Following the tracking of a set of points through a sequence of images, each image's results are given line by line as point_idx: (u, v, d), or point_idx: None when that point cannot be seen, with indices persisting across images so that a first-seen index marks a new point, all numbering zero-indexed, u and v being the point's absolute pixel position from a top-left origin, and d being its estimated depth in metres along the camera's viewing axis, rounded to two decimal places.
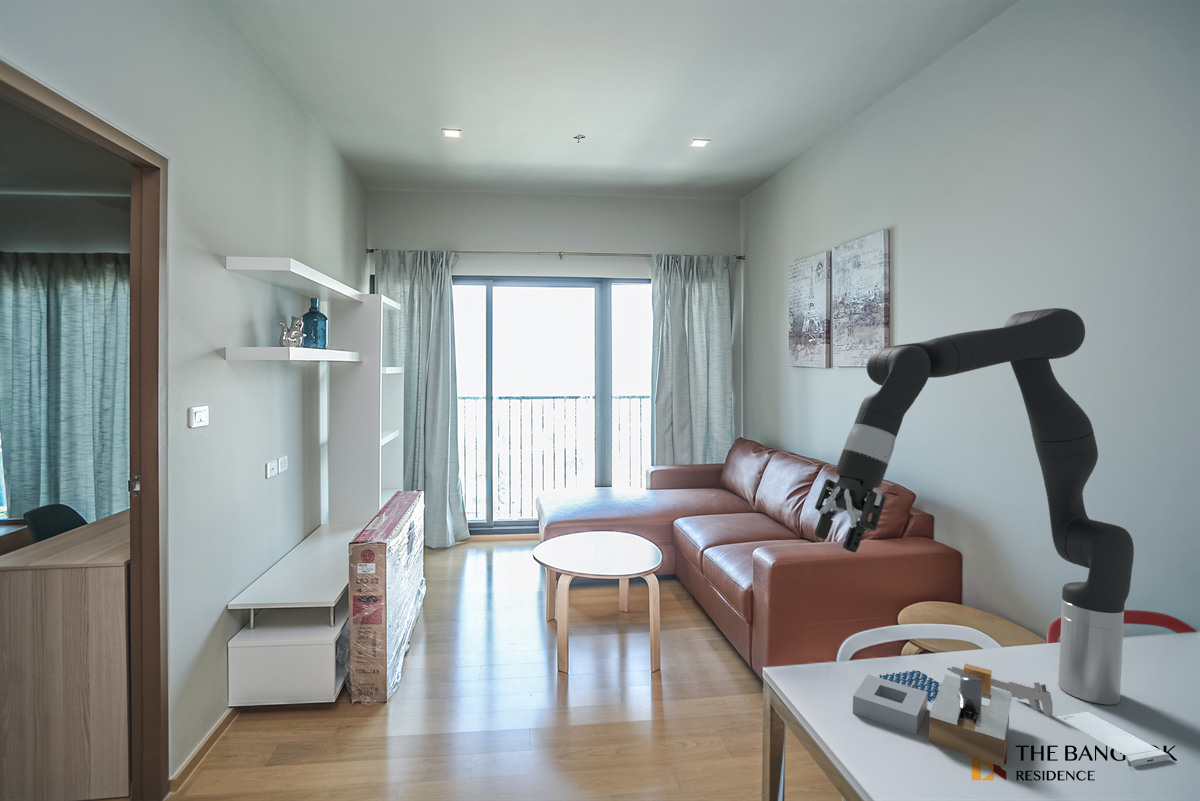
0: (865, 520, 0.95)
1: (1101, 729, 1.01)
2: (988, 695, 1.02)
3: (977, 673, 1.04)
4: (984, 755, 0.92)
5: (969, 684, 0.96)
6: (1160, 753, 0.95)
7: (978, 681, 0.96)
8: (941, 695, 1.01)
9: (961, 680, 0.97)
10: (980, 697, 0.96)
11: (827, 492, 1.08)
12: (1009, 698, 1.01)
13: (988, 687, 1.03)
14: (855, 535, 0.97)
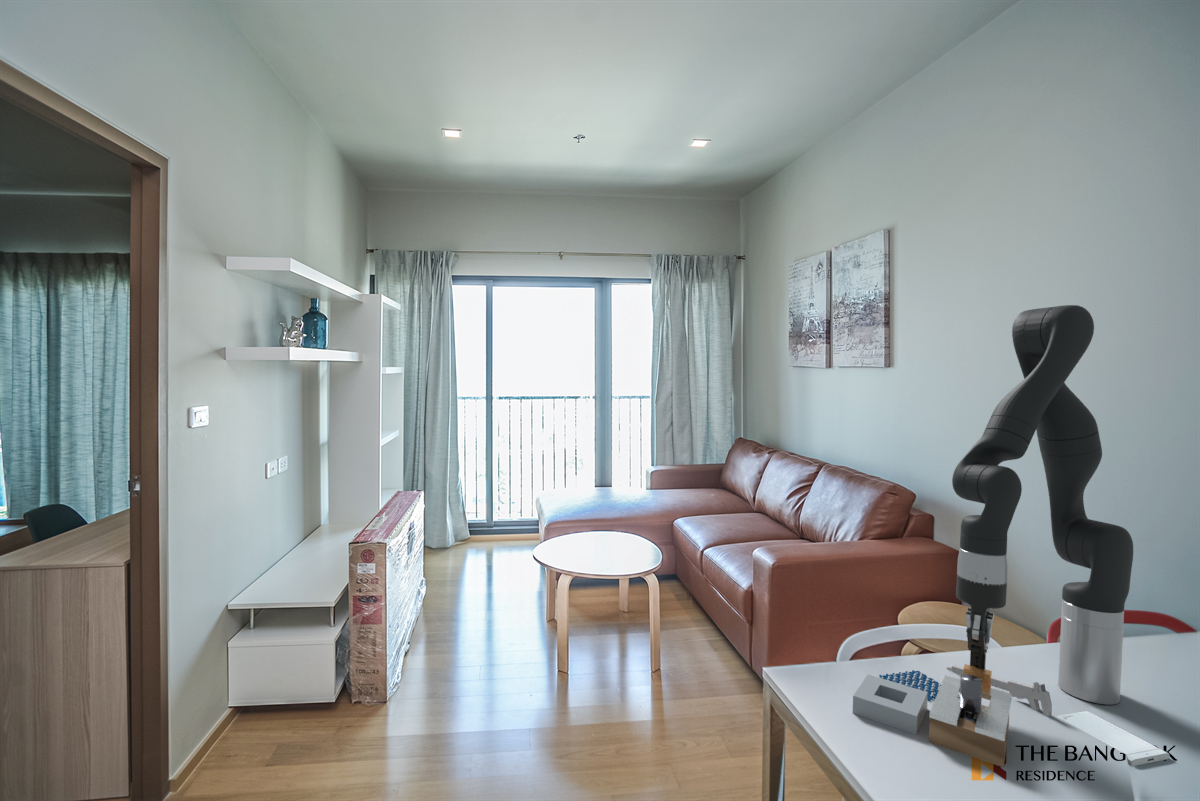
0: None
1: (1101, 729, 1.01)
2: (988, 696, 1.02)
3: (977, 674, 1.04)
4: (984, 755, 0.92)
5: (969, 684, 0.96)
6: (1160, 752, 0.95)
7: (978, 681, 0.96)
8: (941, 696, 1.01)
9: (961, 680, 0.97)
10: (980, 697, 0.96)
11: None
12: (1009, 699, 1.01)
13: (988, 688, 1.03)
14: (973, 658, 1.06)
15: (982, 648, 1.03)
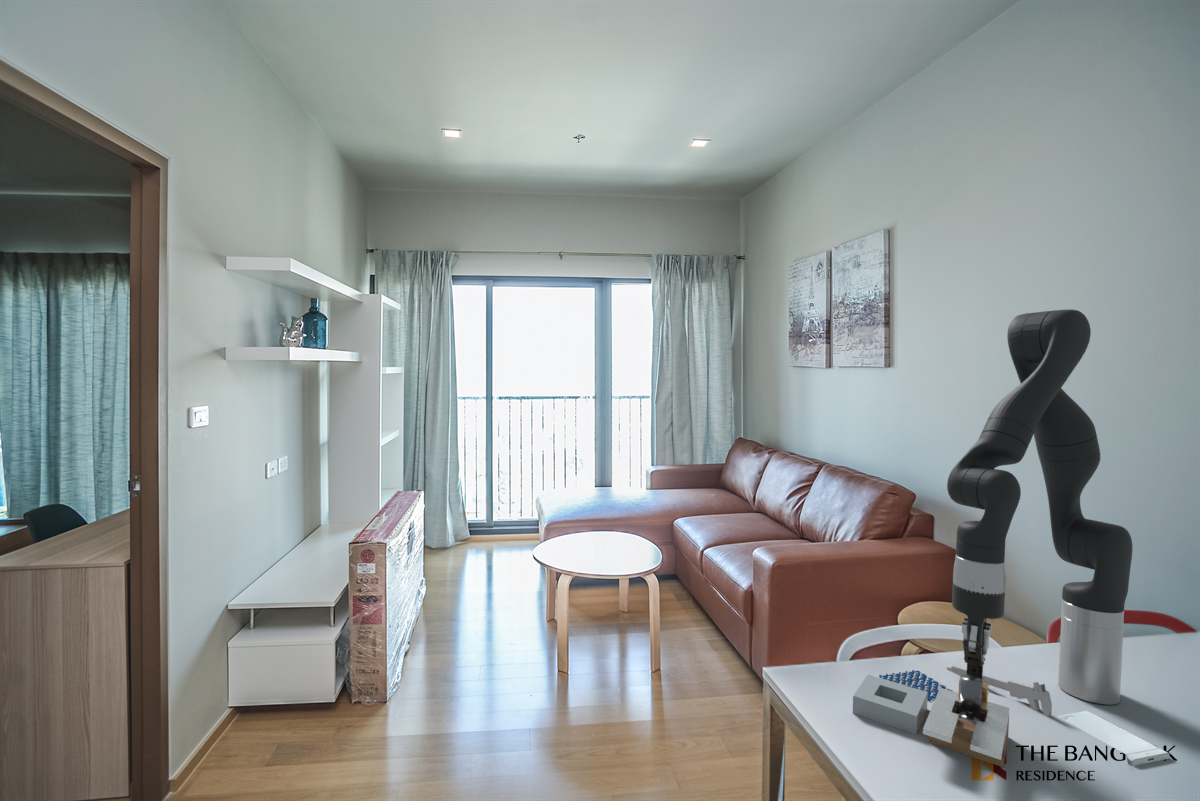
0: None
1: (1101, 729, 1.01)
2: (984, 710, 0.97)
3: None
4: (984, 755, 0.92)
5: (969, 684, 0.96)
6: (1160, 752, 0.95)
7: (978, 681, 0.96)
8: (935, 710, 0.97)
9: (961, 680, 0.97)
10: (980, 697, 0.96)
11: None
12: (1006, 713, 0.96)
13: (984, 701, 0.98)
14: (970, 670, 1.01)
15: (979, 660, 0.98)
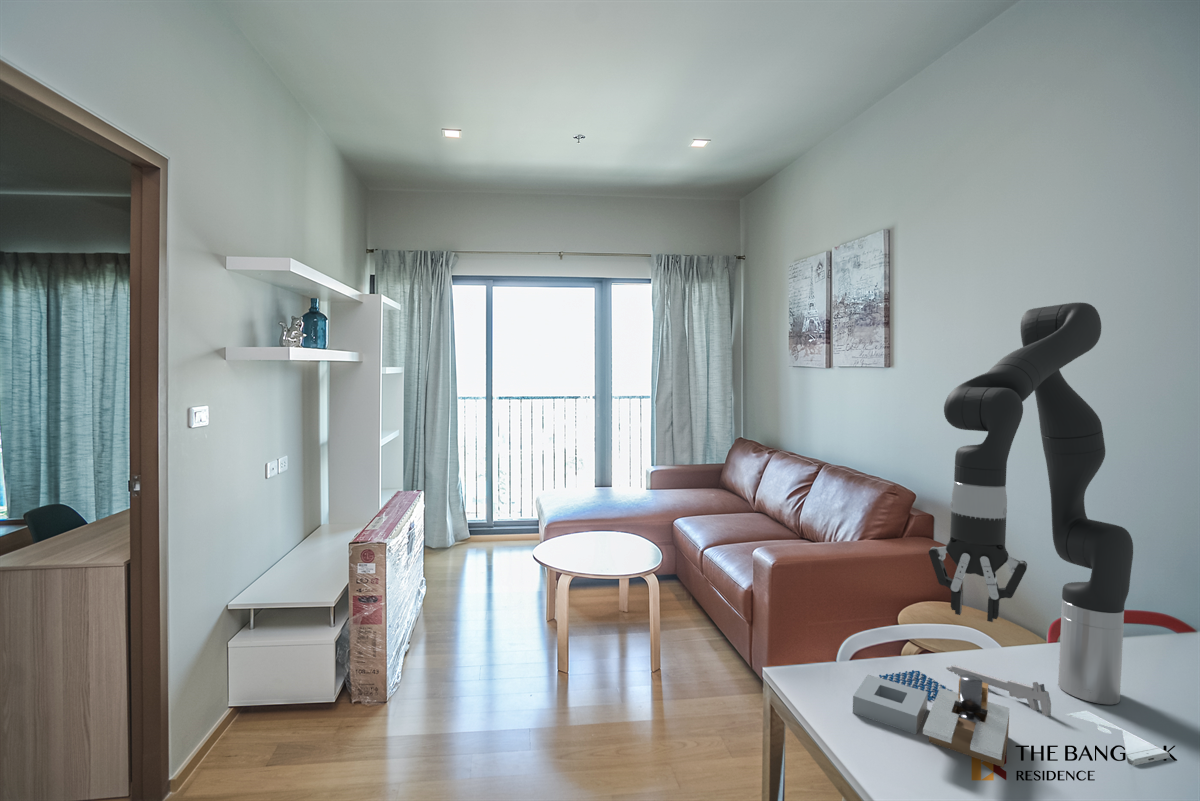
0: (1012, 591, 0.93)
1: (1101, 728, 1.01)
2: (984, 710, 0.97)
3: None
4: (984, 755, 0.92)
5: (969, 684, 0.96)
6: (1160, 752, 0.95)
7: (978, 681, 0.96)
8: (935, 710, 0.97)
9: (961, 680, 0.97)
10: (980, 697, 0.96)
11: (940, 562, 0.99)
12: (1006, 713, 0.96)
13: (984, 702, 0.98)
14: (998, 606, 0.94)
15: None
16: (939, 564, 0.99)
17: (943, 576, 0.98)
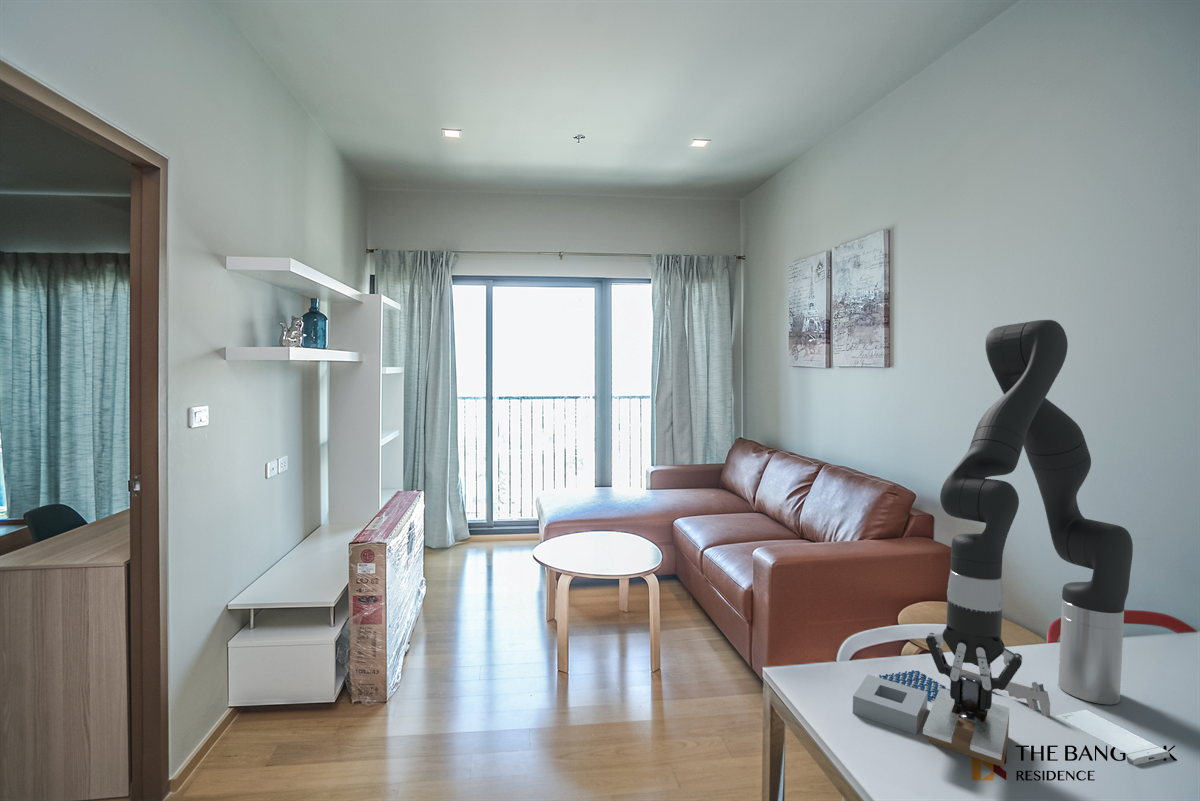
0: (1004, 683, 0.93)
1: (1101, 728, 1.01)
2: None
3: None
4: (984, 755, 0.92)
5: (969, 684, 0.96)
6: (1160, 751, 0.95)
7: (978, 681, 0.96)
8: (935, 710, 0.97)
9: (961, 680, 0.97)
10: (980, 697, 0.96)
11: (938, 650, 0.99)
12: (1006, 713, 0.96)
13: None
14: (991, 696, 0.95)
15: None
16: (937, 652, 0.99)
17: (942, 664, 0.98)
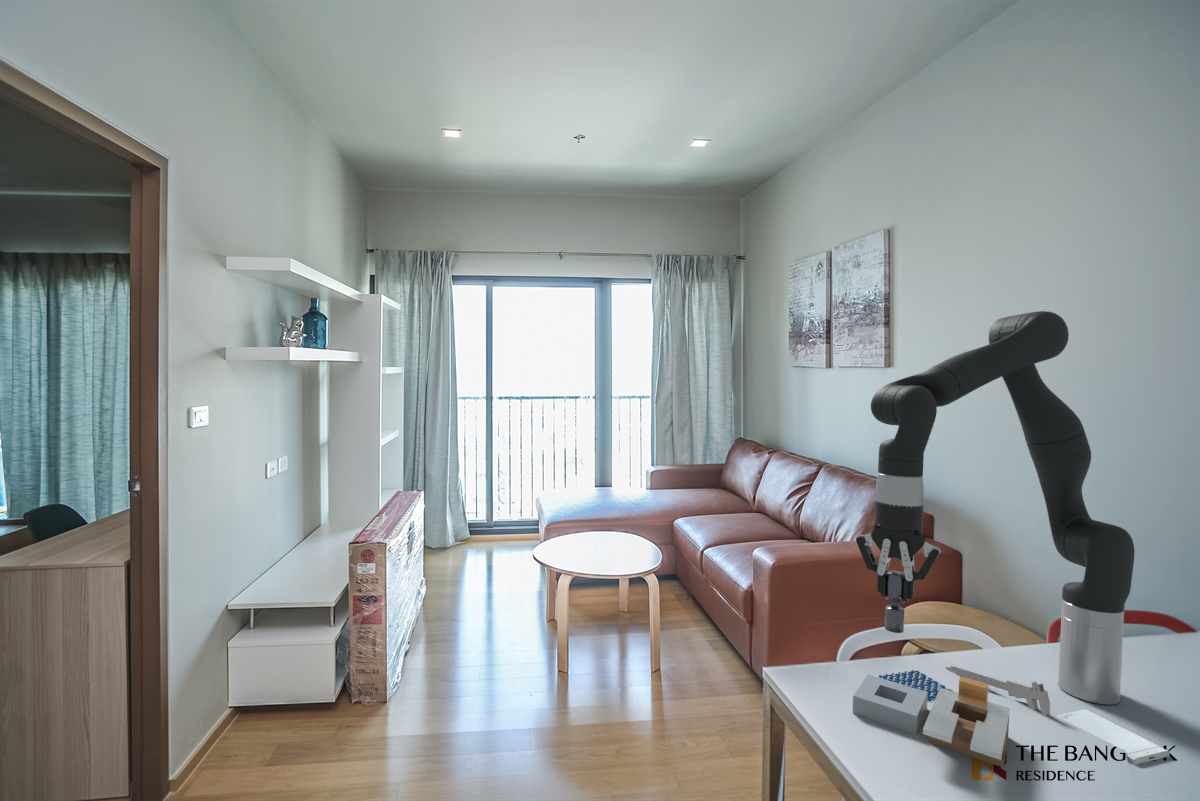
0: (924, 573, 1.01)
1: (1101, 727, 1.01)
2: (984, 710, 0.97)
3: (973, 687, 0.99)
4: (984, 755, 0.92)
5: (894, 577, 1.03)
6: (1160, 750, 0.95)
7: (902, 574, 1.03)
8: (935, 710, 0.97)
9: (887, 574, 1.05)
10: (903, 589, 1.03)
11: (867, 548, 1.07)
12: (1006, 713, 0.96)
13: (984, 702, 0.98)
14: (913, 587, 1.02)
15: (930, 568, 1.02)
16: (866, 550, 1.06)
17: (870, 561, 1.06)
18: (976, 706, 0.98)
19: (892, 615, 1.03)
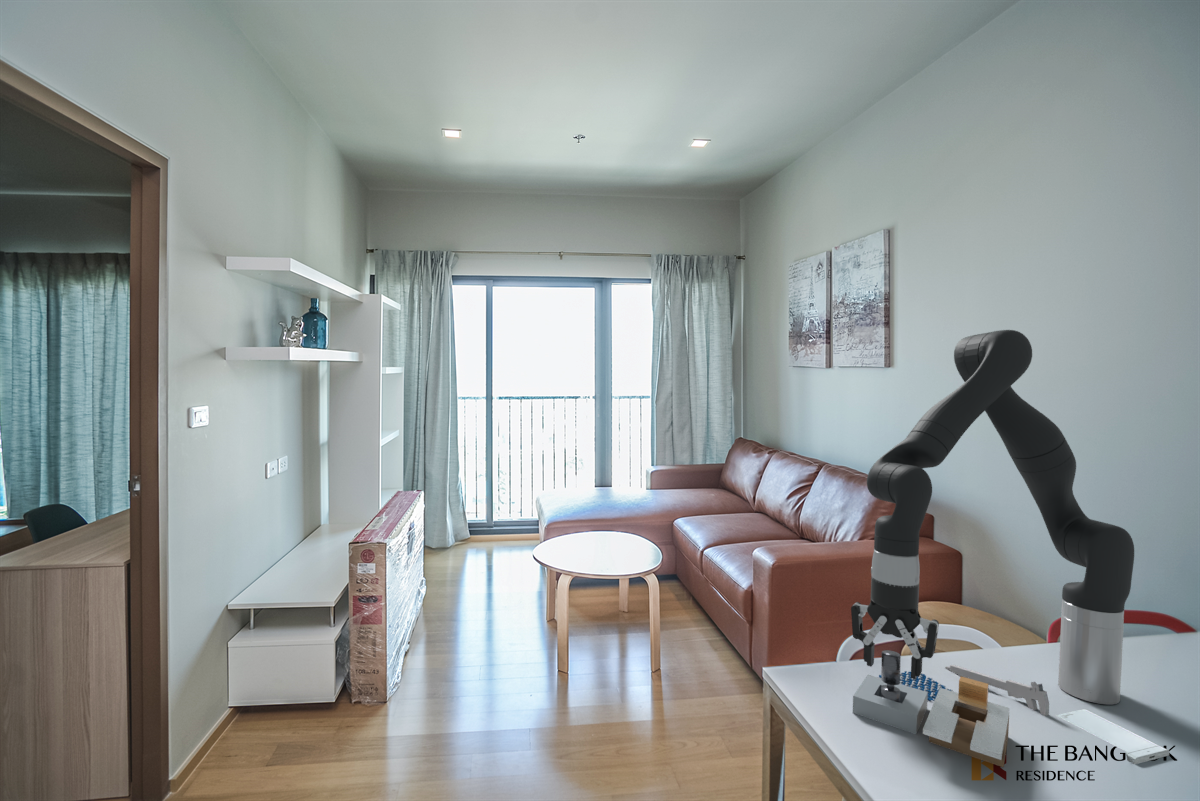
0: (932, 652, 1.00)
1: (1101, 727, 1.02)
2: (984, 710, 0.97)
3: (973, 687, 0.99)
4: (984, 755, 0.92)
5: (888, 659, 1.04)
6: (1160, 749, 0.96)
7: (896, 656, 1.04)
8: (935, 710, 0.97)
9: (882, 655, 1.06)
10: (898, 670, 1.04)
11: (859, 618, 1.08)
12: (1006, 713, 0.96)
13: (984, 702, 0.98)
14: (920, 664, 1.02)
15: None
16: (857, 620, 1.07)
17: (858, 631, 1.07)
18: (976, 706, 0.98)
19: (888, 697, 1.04)
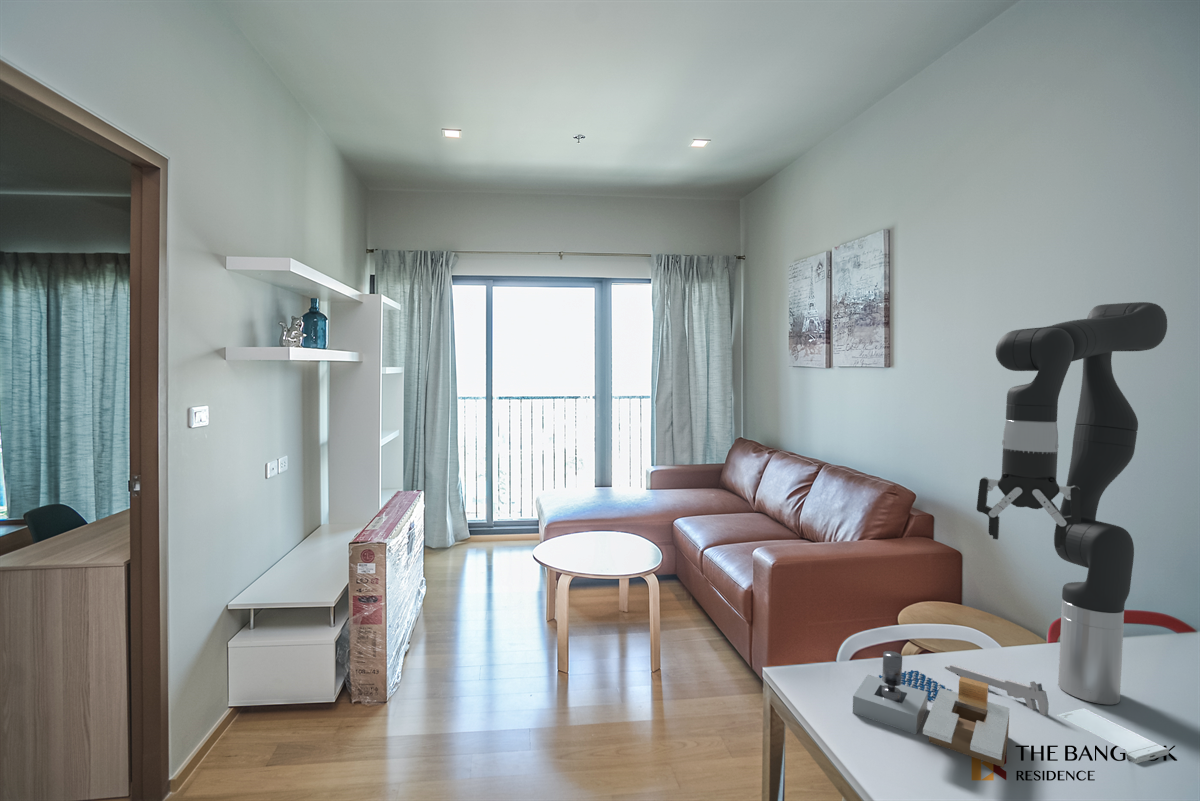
0: (1080, 517, 0.96)
1: (1101, 726, 1.02)
2: (984, 710, 0.97)
3: (973, 687, 0.99)
4: (984, 755, 0.92)
5: (890, 660, 1.04)
6: (1160, 748, 0.96)
7: (898, 657, 1.04)
8: (935, 710, 0.97)
9: (883, 656, 1.05)
10: (900, 671, 1.04)
11: (986, 491, 1.04)
12: (1006, 713, 0.96)
13: (984, 702, 0.98)
14: (1065, 532, 0.98)
15: None
16: (985, 493, 1.04)
17: (983, 504, 1.04)
18: (976, 706, 0.98)
19: (888, 697, 1.04)
